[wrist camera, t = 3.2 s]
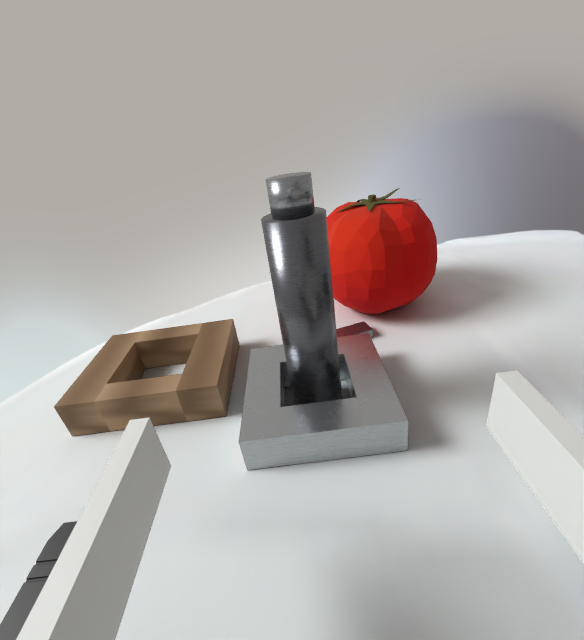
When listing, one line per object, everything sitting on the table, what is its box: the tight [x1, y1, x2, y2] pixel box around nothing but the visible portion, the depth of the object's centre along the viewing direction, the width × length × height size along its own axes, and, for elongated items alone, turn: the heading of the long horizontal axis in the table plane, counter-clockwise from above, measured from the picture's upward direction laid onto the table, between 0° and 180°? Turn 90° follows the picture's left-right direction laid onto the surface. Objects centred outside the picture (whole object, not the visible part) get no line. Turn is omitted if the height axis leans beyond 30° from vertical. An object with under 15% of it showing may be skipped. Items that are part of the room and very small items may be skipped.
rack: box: [54, 319, 239, 436], centre depth 30 cm, size 12×10×3 cm
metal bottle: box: [261, 172, 342, 405], centre depth 22 cm, size 4×4×16 cm
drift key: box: [336, 322, 373, 337], centre depth 32 cm, size 8×2×1 cm, turn 107°
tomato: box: [326, 189, 437, 313], centre depth 36 cm, size 12×13×12 cm
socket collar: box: [239, 333, 408, 470], centre depth 25 cm, size 10×10×2 cm
